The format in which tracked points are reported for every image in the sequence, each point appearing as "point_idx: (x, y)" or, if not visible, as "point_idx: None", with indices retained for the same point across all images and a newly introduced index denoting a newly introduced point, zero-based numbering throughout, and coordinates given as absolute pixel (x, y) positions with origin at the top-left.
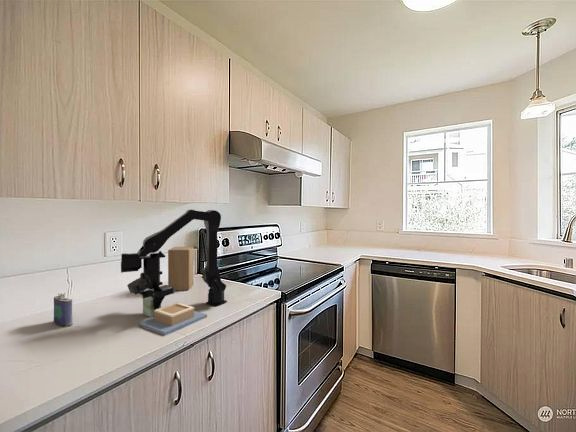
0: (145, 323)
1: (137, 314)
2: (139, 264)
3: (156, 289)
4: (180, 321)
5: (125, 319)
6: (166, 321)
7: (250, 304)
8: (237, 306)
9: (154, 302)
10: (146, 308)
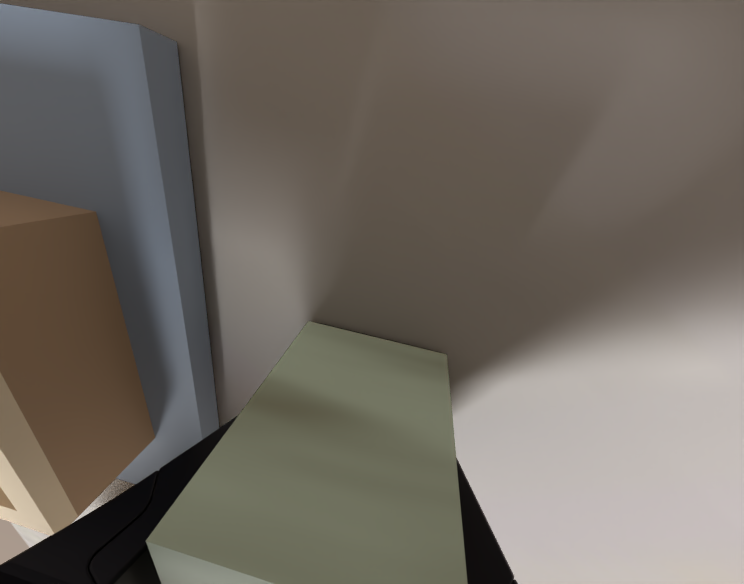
0: (54, 60)
1: (519, 337)
2: None
3: None
4: None
5: (569, 139)
6: None
7: None
8: (47, 537)
9: (140, 501)
10: (358, 399)
